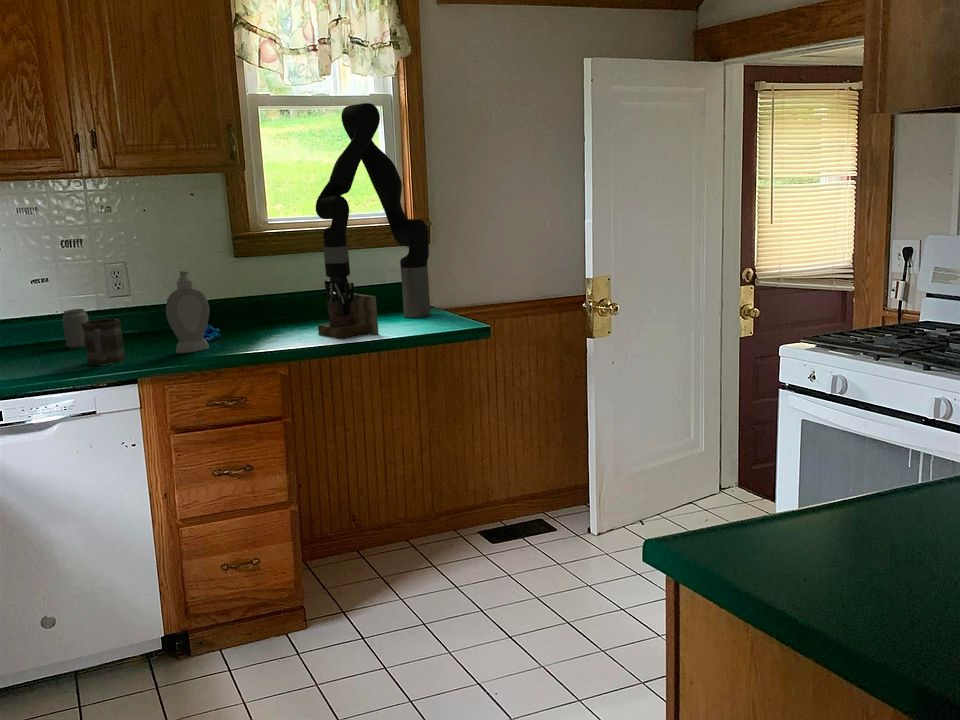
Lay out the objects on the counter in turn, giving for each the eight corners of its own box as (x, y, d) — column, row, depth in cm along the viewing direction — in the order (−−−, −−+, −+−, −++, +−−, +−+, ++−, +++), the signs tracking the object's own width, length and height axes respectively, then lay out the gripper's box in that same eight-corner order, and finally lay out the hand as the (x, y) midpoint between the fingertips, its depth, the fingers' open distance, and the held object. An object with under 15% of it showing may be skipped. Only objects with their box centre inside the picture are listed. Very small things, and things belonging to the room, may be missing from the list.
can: (67, 350, 295) (62, 312, 292) (65, 346, 301) (60, 310, 299) (93, 346, 298) (87, 309, 296) (90, 343, 305) (85, 307, 302)
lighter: (330, 326, 292) (326, 294, 290) (328, 325, 295) (325, 294, 294) (355, 323, 294) (352, 291, 293) (354, 322, 297) (350, 291, 296)
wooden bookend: (314, 333, 300) (310, 296, 297) (345, 327, 307) (341, 291, 304) (346, 340, 285) (343, 301, 282) (378, 334, 292) (375, 296, 289)
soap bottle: (175, 356, 274) (165, 274, 269) (168, 352, 281) (158, 272, 276) (219, 349, 281) (209, 269, 276) (211, 346, 288) (201, 267, 282)
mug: (90, 360, 276) (84, 320, 274) (128, 356, 278) (123, 317, 276) (80, 371, 261) (74, 329, 258) (121, 367, 263) (115, 325, 261)
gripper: (314, 261, 293) (319, 313, 297) (338, 263, 283) (343, 318, 286) (335, 258, 298) (339, 310, 302) (359, 260, 287) (363, 314, 291)
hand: (341, 314), depth 294 cm, fingers open, 6 cm apart
